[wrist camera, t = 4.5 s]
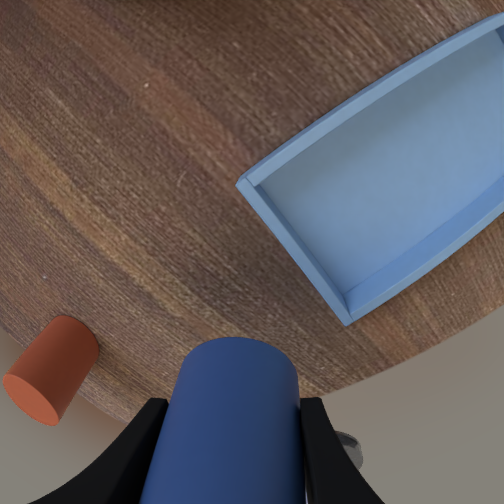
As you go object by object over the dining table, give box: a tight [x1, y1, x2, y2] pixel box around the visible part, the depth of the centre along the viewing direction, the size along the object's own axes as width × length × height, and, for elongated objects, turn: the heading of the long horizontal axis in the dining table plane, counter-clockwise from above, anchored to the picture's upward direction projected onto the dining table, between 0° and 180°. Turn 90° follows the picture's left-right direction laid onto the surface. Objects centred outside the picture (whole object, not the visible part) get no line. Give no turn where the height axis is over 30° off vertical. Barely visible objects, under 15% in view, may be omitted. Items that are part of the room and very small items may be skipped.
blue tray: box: [235, 12, 504, 327], centre depth 13 cm, size 19×9×2 cm, turn 128°
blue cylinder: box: [139, 337, 306, 504], centre depth 8 cm, size 5×5×7 cm
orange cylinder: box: [3, 315, 99, 426], centre depth 18 cm, size 5×5×7 cm
